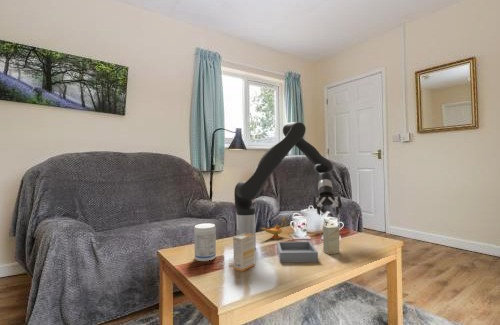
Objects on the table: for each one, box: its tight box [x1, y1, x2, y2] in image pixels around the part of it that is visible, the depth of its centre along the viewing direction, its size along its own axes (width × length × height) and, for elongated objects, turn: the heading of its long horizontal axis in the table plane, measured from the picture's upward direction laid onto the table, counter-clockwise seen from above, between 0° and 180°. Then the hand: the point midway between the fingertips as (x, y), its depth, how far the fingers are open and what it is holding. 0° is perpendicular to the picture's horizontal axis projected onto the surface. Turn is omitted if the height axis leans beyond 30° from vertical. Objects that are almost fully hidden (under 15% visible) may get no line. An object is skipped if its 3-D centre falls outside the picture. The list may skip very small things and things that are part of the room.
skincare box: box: [322, 224, 341, 255], centre depth 126 cm, size 6×4×12 cm
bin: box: [276, 240, 319, 263], centre depth 122 cm, size 16×16×4 cm
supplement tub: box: [193, 222, 217, 262], centre depth 121 cm, size 10×10×15 cm
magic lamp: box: [258, 216, 287, 239], centre depth 153 cm, size 7×18×11 cm, turn 117°
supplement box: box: [232, 233, 256, 272], centre depth 110 cm, size 8×5×13 cm, turn 141°
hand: (328, 214), depth 137 cm, fingers open, 8 cm apart
